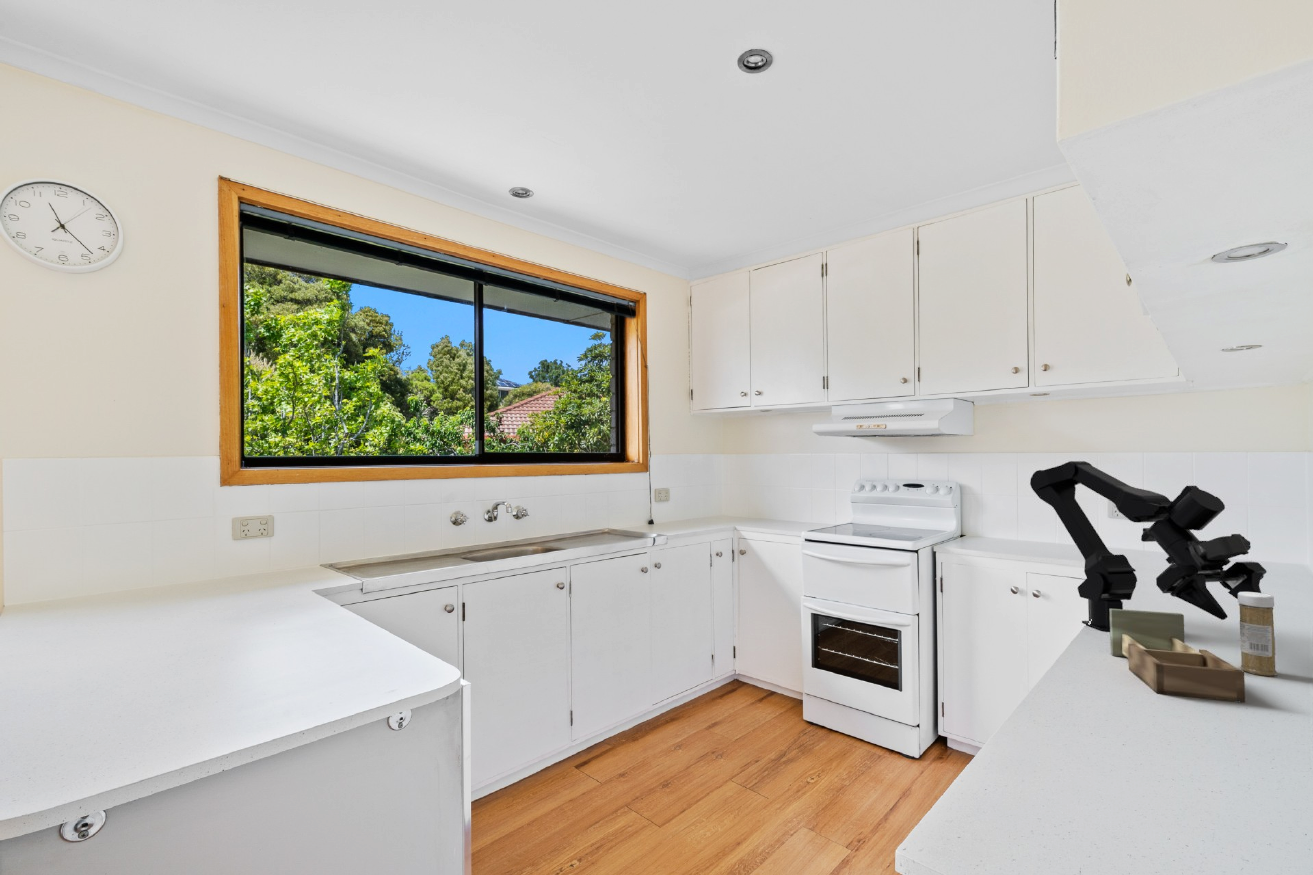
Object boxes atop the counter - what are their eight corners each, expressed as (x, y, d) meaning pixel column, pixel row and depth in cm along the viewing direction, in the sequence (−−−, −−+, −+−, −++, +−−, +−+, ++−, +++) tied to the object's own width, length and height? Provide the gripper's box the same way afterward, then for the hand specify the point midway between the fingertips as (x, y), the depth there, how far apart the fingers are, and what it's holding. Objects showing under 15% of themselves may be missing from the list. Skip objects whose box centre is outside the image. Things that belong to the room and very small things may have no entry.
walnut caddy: (1128, 669, 110) (1128, 643, 110) (1206, 676, 107) (1206, 649, 107) (1156, 693, 99) (1156, 664, 99) (1245, 702, 95) (1244, 672, 95)
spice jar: (1280, 673, 108) (1277, 594, 109) (1272, 678, 106) (1269, 597, 106) (1244, 666, 112) (1242, 589, 113) (1236, 670, 110) (1233, 592, 110)
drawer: (1110, 653, 119) (1109, 608, 119) (1182, 659, 115) (1180, 613, 116) (1134, 673, 108) (1133, 623, 108) (1214, 681, 104) (1212, 629, 104)
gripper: (1168, 519, 115) (1236, 592, 104) (1252, 518, 119) (1327, 588, 107) (1130, 557, 123) (1190, 629, 111) (1210, 554, 126) (1276, 624, 115)
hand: (1246, 617), depth 111 cm, fingers open, 9 cm apart
